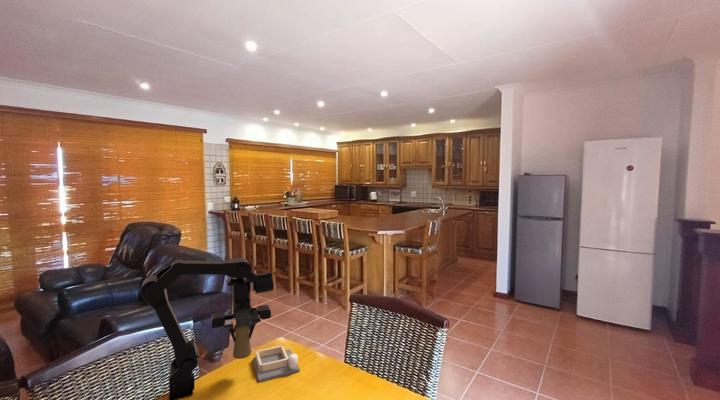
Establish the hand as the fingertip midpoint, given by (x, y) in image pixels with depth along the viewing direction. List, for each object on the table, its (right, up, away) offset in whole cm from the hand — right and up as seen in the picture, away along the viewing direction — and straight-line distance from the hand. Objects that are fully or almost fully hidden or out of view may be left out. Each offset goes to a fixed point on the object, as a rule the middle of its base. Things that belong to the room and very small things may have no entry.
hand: (242, 339), depth 110 cm
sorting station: (+10, -13, +7) cm, 17 cm away
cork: (0, -5, 0) cm, 5 cm away
